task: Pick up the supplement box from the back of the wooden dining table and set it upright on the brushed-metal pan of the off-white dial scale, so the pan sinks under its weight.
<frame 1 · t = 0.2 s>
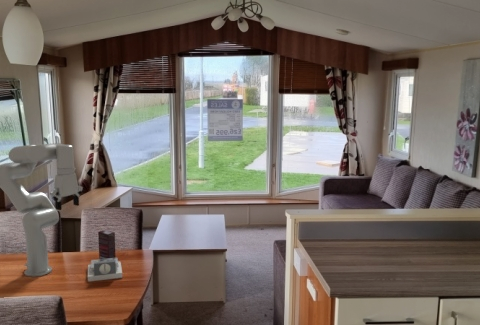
hand: (67, 207, 204), 37 cm above the table, tool pointing down, fingers open, 9 cm apart
supplement box: (107, 260, 237), on the table
scale base: (105, 273, 219), on the table
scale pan: (104, 263, 220), point 5 cm above the table, slide at 0.0 cm
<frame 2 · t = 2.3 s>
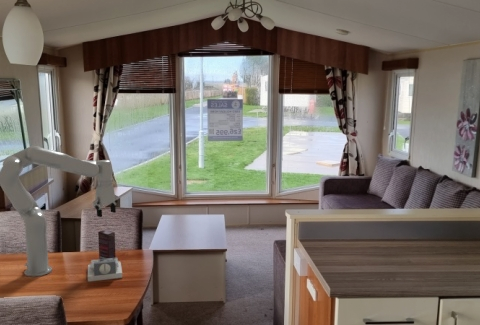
hand: (106, 214, 234), 25 cm above the table, tool pointing down, fingers open, 9 cm apart
nothing on the table moved.
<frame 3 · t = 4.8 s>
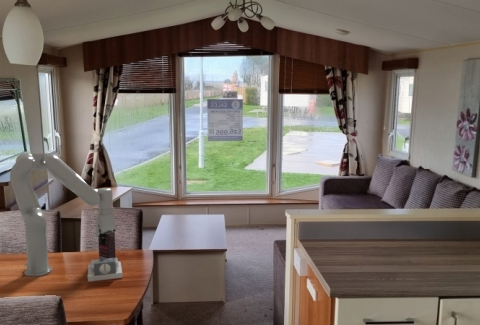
hand: (106, 243, 236), 9 cm above the table, tool pointing down, fingers closed on supplement box, 5 cm apart
supplement box: (107, 260, 237), on the table, touching gripper
everything else where it was.
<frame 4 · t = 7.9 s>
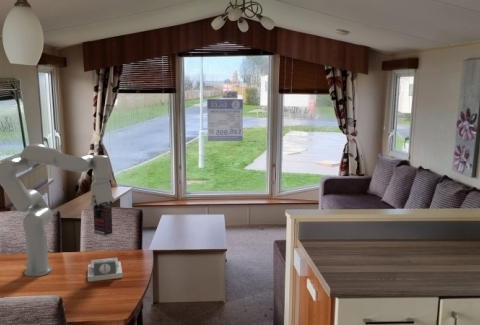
hand: (102, 215, 217), 29 cm above the table, tool pointing down, fingers closed on supplement box, 5 cm apart
supplement box: (103, 234, 218), point 20 cm above the table, touching gripper
everything else where it was.
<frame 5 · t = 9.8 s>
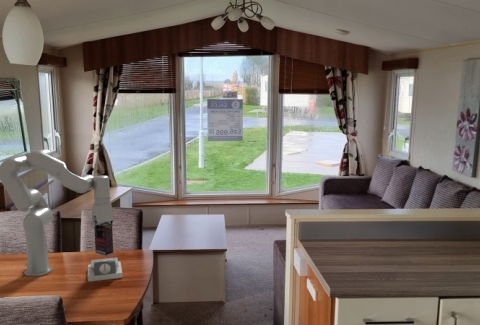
hand: (103, 235, 218), 19 cm above the table, tool pointing down, fingers closed on supplement box, 5 cm apart
supplement box: (104, 254, 219), point 10 cm above the table, touching gripper
everything else where it was.
when the fingers open (16 cm above the table, at t = 11.2 s): supplement box drops 3 cm, resting on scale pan.
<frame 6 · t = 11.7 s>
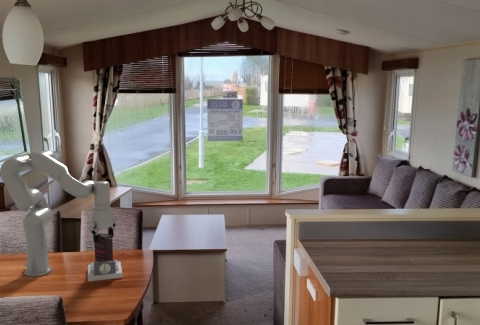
hand: (103, 239, 218), 17 cm above the table, tool pointing down, fingers open, 9 cm apart
supplement box: (104, 265, 220), point 4 cm above the table, touching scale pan
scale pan: (104, 266, 220), point 3 cm above the table, slide at 1.3 cm, touching supplement box
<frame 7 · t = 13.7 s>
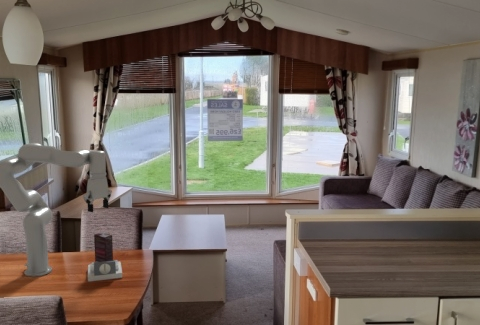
hand: (98, 209, 216), 33 cm above the table, tool pointing down, fingers open, 9 cm apart
nothing on the table moved.
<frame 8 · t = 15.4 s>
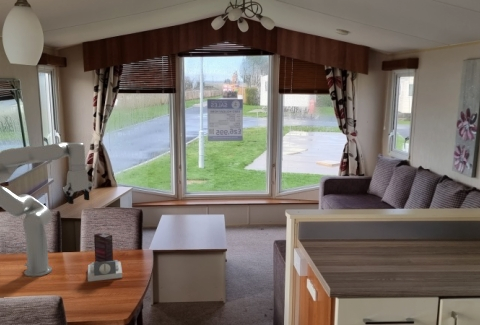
hand: (78, 201, 216), 36 cm above the table, tool pointing down, fingers open, 9 cm apart
nothing on the table moved.
at the end: supplement box inside the target area on the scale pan (0.2 cm from its centre), point 5.0 cm above the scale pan's base; supplement box tilted 0°; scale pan slide at 1.3 cm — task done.
